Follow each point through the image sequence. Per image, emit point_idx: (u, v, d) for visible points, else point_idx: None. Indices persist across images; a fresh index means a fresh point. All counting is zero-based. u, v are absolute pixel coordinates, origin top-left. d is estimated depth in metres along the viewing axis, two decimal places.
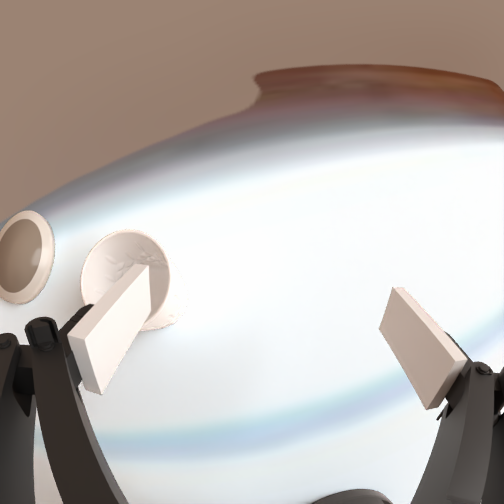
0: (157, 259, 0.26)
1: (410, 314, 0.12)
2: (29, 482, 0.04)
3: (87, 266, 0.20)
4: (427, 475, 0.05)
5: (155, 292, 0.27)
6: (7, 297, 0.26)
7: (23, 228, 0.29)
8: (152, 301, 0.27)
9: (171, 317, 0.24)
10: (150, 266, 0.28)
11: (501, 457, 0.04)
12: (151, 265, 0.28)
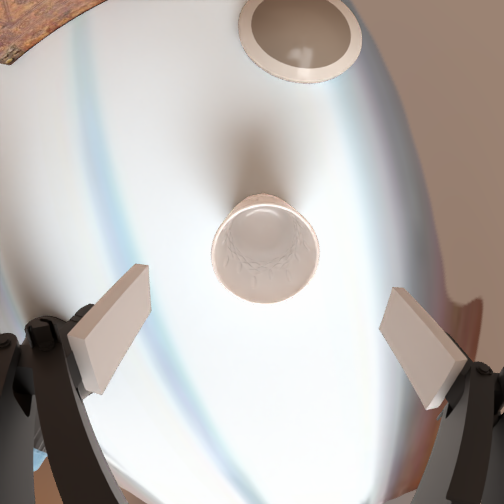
0: (296, 246, 0.26)
1: (410, 314, 0.12)
2: (29, 482, 0.04)
3: (279, 207, 0.20)
4: (427, 475, 0.05)
5: (265, 230, 0.28)
6: (244, 18, 0.21)
7: (338, 34, 0.21)
8: (256, 228, 0.28)
9: None
10: (292, 227, 0.28)
11: (501, 457, 0.04)
12: (293, 228, 0.27)
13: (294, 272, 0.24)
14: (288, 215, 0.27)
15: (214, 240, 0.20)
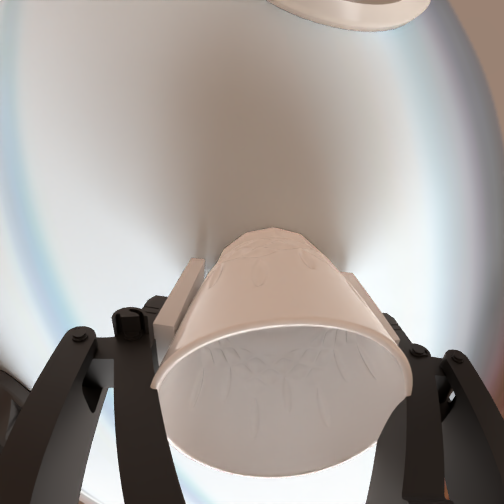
0: (337, 341, 0.12)
1: None
2: (78, 477, 0.05)
3: None
4: (377, 468, 0.06)
5: None
6: None
7: None
8: None
9: None
10: None
11: (461, 450, 0.05)
12: None
13: (335, 404, 0.10)
14: None
15: None
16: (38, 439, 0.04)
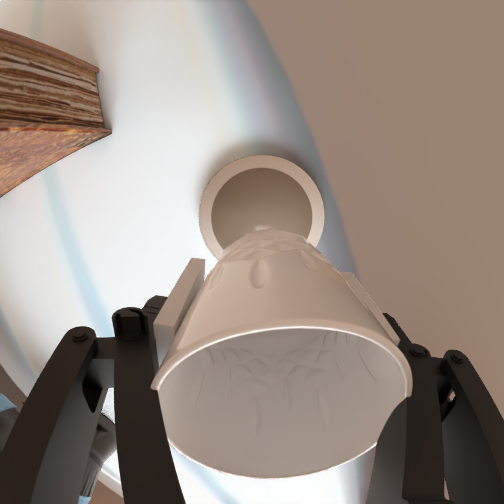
0: (337, 342, 0.12)
1: None
2: (78, 477, 0.05)
3: None
4: (377, 468, 0.06)
5: None
6: (204, 212, 0.29)
7: (298, 222, 0.29)
8: None
9: None
10: None
11: (461, 450, 0.05)
12: None
13: (335, 405, 0.10)
14: None
15: None
16: (38, 439, 0.04)
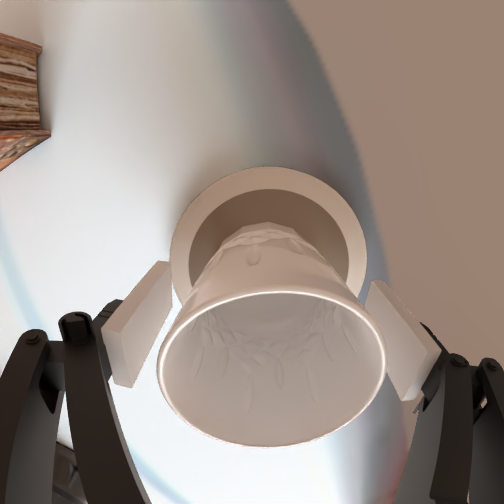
0: (325, 325, 0.14)
1: (387, 306, 0.12)
2: (48, 479, 0.04)
3: None
4: (408, 471, 0.05)
5: None
6: (177, 259, 0.18)
7: None
8: None
9: None
10: None
11: (486, 453, 0.05)
12: None
13: (323, 381, 0.12)
14: None
15: (160, 358, 0.08)
16: (4, 441, 0.03)
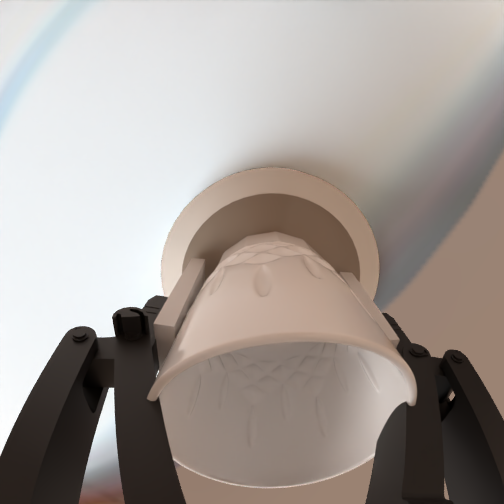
0: (338, 350, 0.12)
1: None
2: (79, 478, 0.05)
3: None
4: (377, 468, 0.06)
5: None
6: (230, 187, 0.14)
7: None
8: None
9: None
10: None
11: (460, 450, 0.05)
12: None
13: (334, 415, 0.10)
14: None
15: None
16: (38, 439, 0.04)
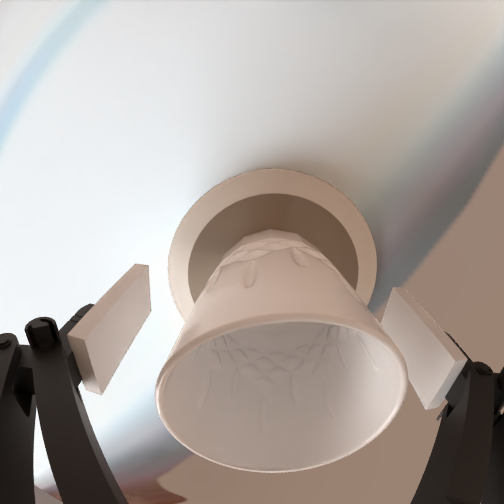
0: None
1: (410, 314, 0.12)
2: (29, 482, 0.04)
3: None
4: (427, 475, 0.05)
5: None
6: (234, 187, 0.15)
7: None
8: None
9: None
10: None
11: (501, 457, 0.04)
12: None
13: (370, 343, 0.10)
14: None
15: (195, 452, 0.08)
16: None
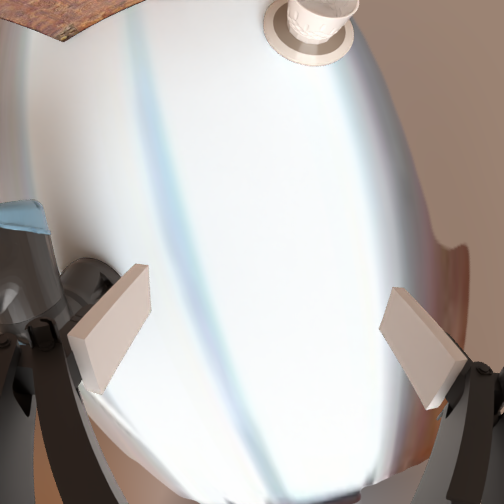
0: None
1: (410, 314, 0.12)
2: (29, 482, 0.04)
3: None
4: (427, 475, 0.05)
5: None
6: (267, 18, 0.29)
7: None
8: None
9: None
10: (300, 5, 0.26)
11: (501, 457, 0.04)
12: (301, 4, 0.26)
13: None
14: None
15: (332, 17, 0.21)
16: None
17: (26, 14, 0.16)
